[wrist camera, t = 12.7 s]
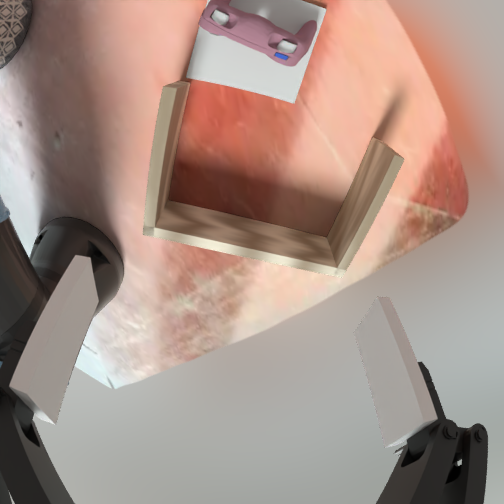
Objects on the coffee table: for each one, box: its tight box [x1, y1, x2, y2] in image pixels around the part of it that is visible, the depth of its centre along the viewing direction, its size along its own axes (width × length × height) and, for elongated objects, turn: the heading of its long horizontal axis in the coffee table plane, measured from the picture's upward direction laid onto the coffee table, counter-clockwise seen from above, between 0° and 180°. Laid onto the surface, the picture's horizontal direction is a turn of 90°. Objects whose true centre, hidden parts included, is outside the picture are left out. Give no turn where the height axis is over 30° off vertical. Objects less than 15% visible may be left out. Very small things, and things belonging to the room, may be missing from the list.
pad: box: [186, 0, 326, 103], centre depth 23 cm, size 11×11×1 cm
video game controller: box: [199, 0, 317, 67], centre depth 20 cm, size 10×5×7 cm, turn 63°
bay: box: [143, 81, 404, 278], centre depth 29 cm, size 22×15×6 cm
